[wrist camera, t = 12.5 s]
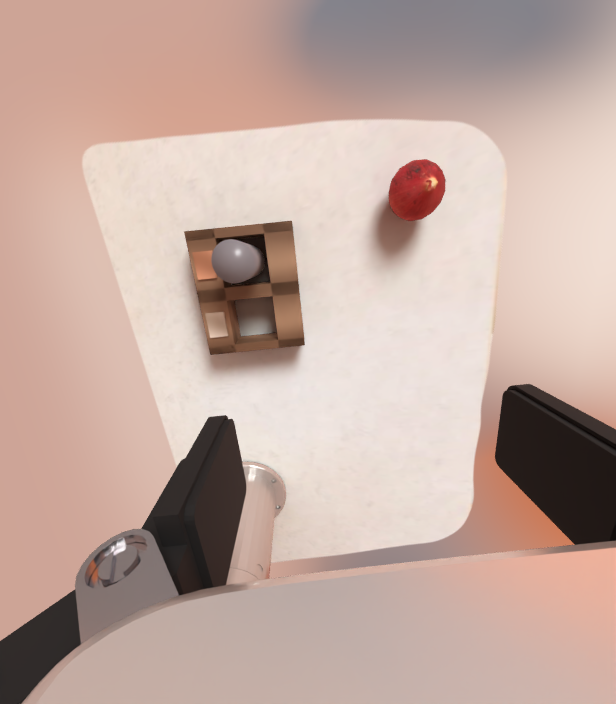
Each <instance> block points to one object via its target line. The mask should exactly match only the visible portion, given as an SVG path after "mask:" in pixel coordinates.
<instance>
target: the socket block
mask: <svg viewBox="0 0 616 704" xmlns="http://www.w3.org/2000/svg"><path fill="white" fill-rule="evenodd" d="M184 233H185V238H186V242H187V247H188V252H189V256H190V261H191V266H192V270H193V275H194V280H195V284H196V289H197V294H198V298H199V303H200V308H201V312H202V317H203V322H204V326H205V331H206V336H207V341H208V345H209V350H210V355H213V354H223V353H233V352H243V351H252V350H262V349H272V348H282V347H291V346H301V345H305V343H304V332H303V323H302V313H301V303H300V294H299V284H298V274H297V265H296V255H295V246H294V236H293V226H292V221H285V222H275V223H265V224H255V225H245V226H235V227H225V228H215V229H205V230H195V231H185V232H184ZM255 237H265V245H266V252H267V260H268V267H269V275H270V281H269V282H259V283H249V284H239V285H232V284H231V283H229V282H226V281H224V280H222V279H221V278H220V277H218V275H217V274H216V273H215V271H214V269H213V267H212V262H211V257H212V253H213V250H214V248H215V247H216V246H217V245H218V244H219V243H220V242H222V241H224V240H228V239H234V240H235V239H245V238H255ZM269 296H272V297H273V305H274V312H275V320H276V327H277V333H270V334H260V335H251V336H241V335H240V330H239V324H238V318H237V313H236V307H235V301H234V300H240V299H249V298H259V297H269Z"/></svg>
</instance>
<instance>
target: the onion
mask: <svg viewBox="0 0 616 704" xmlns="http://www.w3.org/2000/svg"><path fill="white" fill-rule="evenodd" d="M444 192H445V177H444V174H443V171H442V170H441V169H440V167H439V166H438V165H437V164H436V163H434V162H431V161H429V160H426V159H424V160H414V161H411V162H409V163H408V164H406V165H405V166H403V167H401V168H400V169H399V170H398V172H397V173H396V175H395V176H394V177H393V179H392V181H391V185H390V189H389V203H390V206H391V208H392V210H393V212H394V213H395V214H396V215H397V216H399V217H400V218H402V219H405V220H408V221H413V220H419V219H423V218H424V217H426V216H427V215H429V214H431V213H432V212H433V211H434V210H435V209H436V207H437V206H438V205H439V204H440V202H441V200H442V198H443V195H444Z"/></svg>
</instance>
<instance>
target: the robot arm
mask: <svg viewBox="0 0 616 704" xmlns="http://www.w3.org/2000/svg"><path fill="white" fill-rule="evenodd" d="M495 459H496V462H497V464H498V466H499V467H500V468H501V469H502V470H503V471H504V473H505V474H506V475H507V476H508V477H509V478H510V479H511V480H512V481H513V482H514V483H515V484H516V485H518V487H519V488H520V489H521V490H522V491H523V492H524V493H525V494H526V495H527V496H528V497H529V498H530V499H531V500H532V501H533V502H534V503H535V504H536V505H537V506H538V507H539V508H540V509H541V510H542V511H543V512H544V513H545V515H547V516H548V518H550V520H551V521H552V522H553V523H554V524H555V525H556V526H557V527H558V528H559V529H560V530H561V531H562V532H563V533H564V534H565V535H566V536H567V537H568V538H569V539H570V540H571V541H572V542H573V543H574V544H575V545H568V546H559V547H548V548H538V549H530V550H519V551H510V552H500V553H491V554H481V555H472V556H463V557H453V558H445V559H434V560H425V561H416V562H407V563H398V564H389V565H380V566H371V567H363V568H354V569H345V570H336V571H327V572H318V573H309V574H302V575H295V576H287V577H279V578H271V579H269V573H270V562H271V551H272V540H273V528H274V518H275V517H276V516H277V515H278V514H279V513H280V511H281V510H282V508H283V506H284V504H285V499H286V490H285V485H284V483H283V481H282V479H281V478H280V476H279V475H278V474H277V473H276V472H275V471H274V470H272V469H271V468H269V467H267V466H265V465H263V464H259V463H255V462H242V459H241V454H240V450H239V445H238V440H237V435H236V430H235V425H234V421H233V419H228V417H227V416H226V415H225V416H215V417H209V418H208V419H207V421H206V423H205V425H204V426H203V428H202V430H201V432H200V434H199V435H198V437H197V439H196V441H195V442H194V444H193V446H192V448H191V450H190V451H189V453H188V455H187V457H186V458H185V459H183V460H182V461H181V462H180V463H179V465H178V466H177V468H176V470H175V472H174V473H173V475H172V477H171V478H170V480H169V482H168V484H167V485H166V487H165V489H164V491H163V492H162V494H161V496H160V497H159V499H158V501H157V503H156V505H155V506H154V508H153V510H152V511H151V513H150V515H149V516H148V518H147V520H146V522H145V523H144V525H143V527H142V528H141V529H132V530H129V531H125V532H122V533H120V534H118V535H116V536H114V537H112V538H110V539H109V540H107V541H106V542H104V543H103V544H101V545H100V546H99V547H98V548H97V549H96V550H95V551H94V552H92V553H91V554H90V555H89V557H88V558H87V559H86V560H85V562H84V563H83V565H82V566H81V568H80V570H79V572H78V574H77V576H76V583H75V590H74V591H72V592H71V593H69V594H68V595H67V596H65V597H63V598H62V599H60V600H59V601H58V602H56V603H55V604H53V605H52V606H50V607H49V608H48V609H46V610H45V611H43V612H42V613H40V614H39V615H37V616H36V617H35V618H33V619H32V620H30V621H29V622H27V623H26V624H24V625H23V626H22V627H20V628H19V629H17V630H16V631H14V632H13V633H11V634H10V635H8V636H7V637H6V638H4V639H3V640H1V641H0V704H616V430H615V429H614V428H612V427H610V426H608V425H606V424H604V423H603V422H601V421H599V420H597V419H595V418H593V417H591V416H589V415H587V414H586V413H584V412H582V411H580V410H578V409H576V408H574V407H572V406H571V405H569V404H566V403H565V402H563V401H561V400H559V399H557V398H556V397H554V396H552V395H550V394H548V393H546V392H544V391H542V390H540V389H538V388H537V387H535V386H533V385H530V384H524V385H515V386H510V387H509V388H508V389H507V391H505V392H504V393H503V398H502V406H501V414H500V422H499V430H498V437H497V445H496V452H495Z"/></svg>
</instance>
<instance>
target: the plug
mask: <svg viewBox="0 0 616 704" xmlns="http://www.w3.org/2000/svg"><path fill="white" fill-rule="evenodd" d="M211 262H212V267H213V269H214V271H215V273H216V274H217V275H218V277H220V278H221V279H222V280H224V281H226V282H229V283H240V282H243V281H245V280H248V279H250V278H253V277H255V276H258V275H259V274H260V273H261V272H262V271H263V269H264V266H265V258H264V255H263V253H262V251H261V250H260V249H259V248H257V247H256V246H253V245H250V244H247V243H244V242H241V241H238V240H234V239H228V240H224V241H222V242H220V243H219V244H218V245H217V246H216V247H215V248H214V250H213V253H212V257H211Z"/></svg>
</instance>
